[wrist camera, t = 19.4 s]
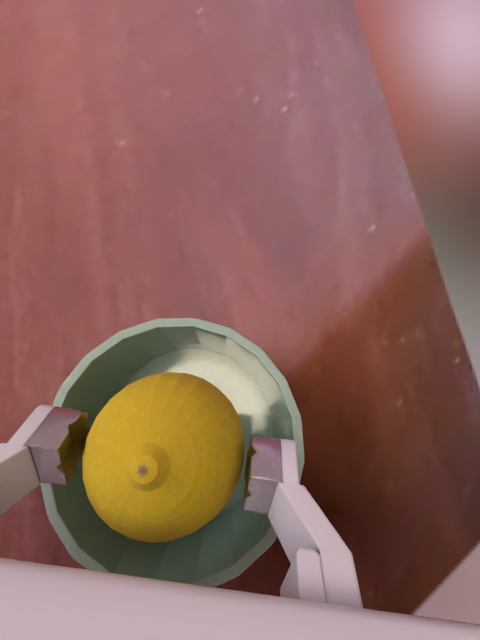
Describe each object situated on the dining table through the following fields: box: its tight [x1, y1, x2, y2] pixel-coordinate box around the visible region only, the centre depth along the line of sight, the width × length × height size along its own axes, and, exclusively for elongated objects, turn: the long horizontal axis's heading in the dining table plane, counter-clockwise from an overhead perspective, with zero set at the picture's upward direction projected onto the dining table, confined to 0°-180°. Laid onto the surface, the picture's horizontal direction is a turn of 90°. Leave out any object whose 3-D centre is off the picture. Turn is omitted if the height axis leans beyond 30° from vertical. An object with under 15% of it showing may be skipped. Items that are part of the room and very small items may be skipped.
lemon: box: [82, 372, 245, 543], centre depth 12 cm, size 6×6×8 cm
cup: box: [40, 318, 305, 587], centre depth 16 cm, size 10×10×7 cm
